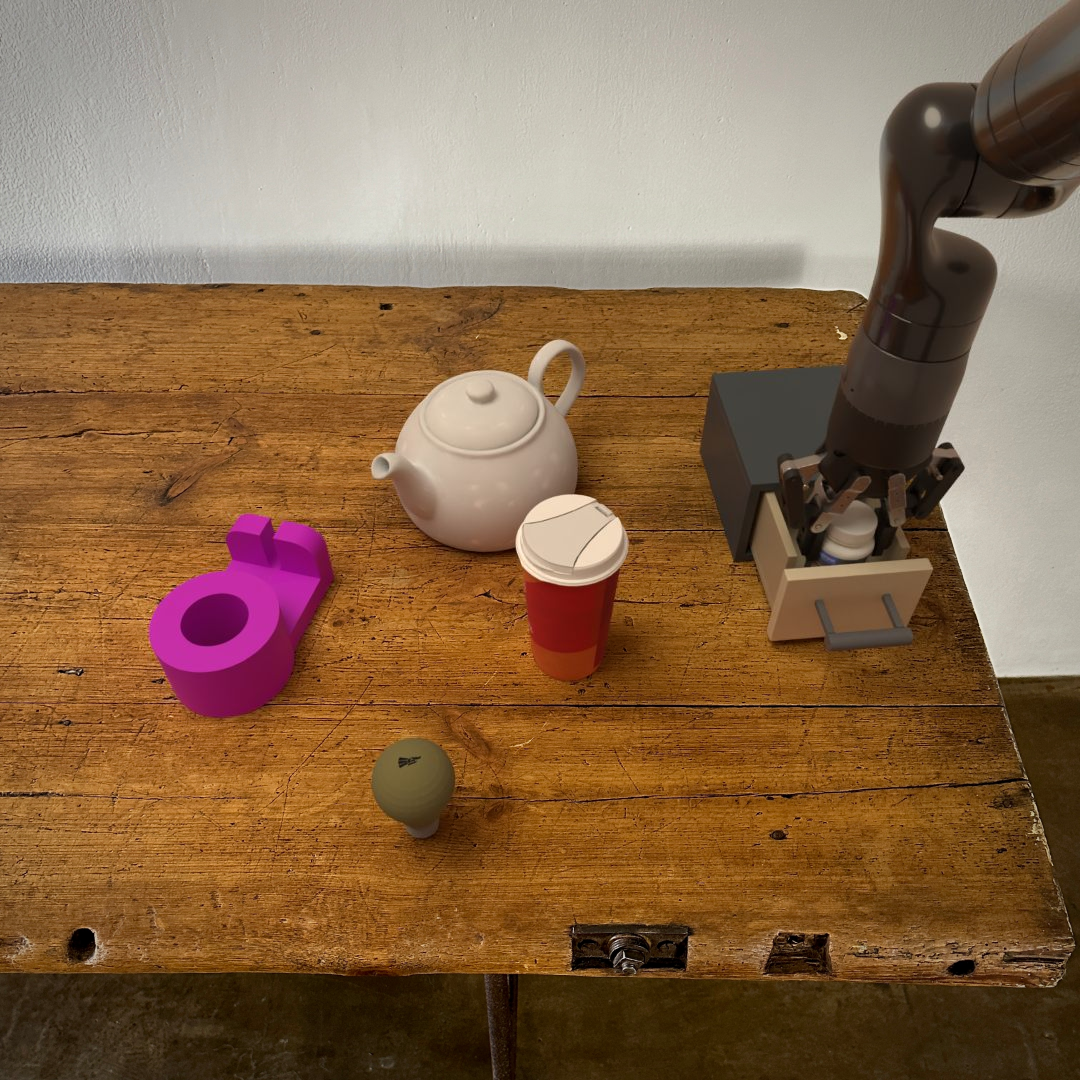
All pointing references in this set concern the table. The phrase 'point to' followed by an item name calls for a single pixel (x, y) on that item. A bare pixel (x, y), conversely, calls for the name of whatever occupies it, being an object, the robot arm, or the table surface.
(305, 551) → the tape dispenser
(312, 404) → the table surface
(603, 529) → the coffee cup
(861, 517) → the pill bottle
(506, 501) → the teapot
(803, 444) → the cabinet
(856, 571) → the storage drawer
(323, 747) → the table surface
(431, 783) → the light bulb
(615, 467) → the table surface
